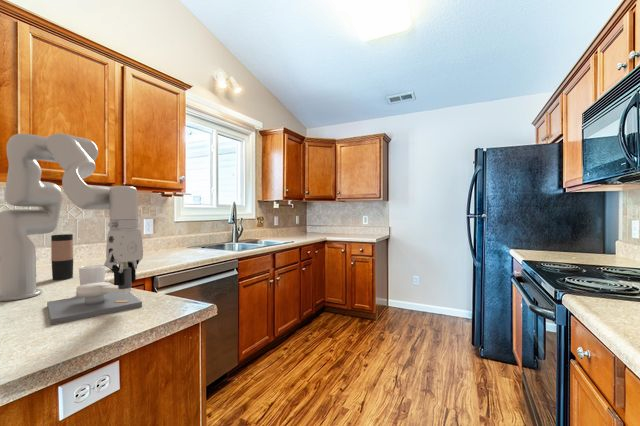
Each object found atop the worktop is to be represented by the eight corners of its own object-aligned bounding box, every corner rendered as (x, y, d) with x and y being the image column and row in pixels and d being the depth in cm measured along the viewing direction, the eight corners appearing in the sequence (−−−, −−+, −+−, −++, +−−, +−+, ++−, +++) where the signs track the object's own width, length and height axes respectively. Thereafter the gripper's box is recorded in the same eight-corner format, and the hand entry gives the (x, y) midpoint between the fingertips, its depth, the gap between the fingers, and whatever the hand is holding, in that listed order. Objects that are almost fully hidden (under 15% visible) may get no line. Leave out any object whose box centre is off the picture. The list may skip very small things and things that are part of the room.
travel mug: (48, 279, 137) (47, 235, 136) (68, 276, 143) (68, 234, 143) (56, 281, 133) (55, 235, 133) (76, 277, 140) (76, 234, 140)
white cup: (74, 297, 109) (74, 269, 109) (85, 291, 116) (85, 265, 116) (100, 295, 111) (99, 268, 111) (108, 289, 119) (108, 264, 118)
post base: (47, 306, 98) (47, 294, 98) (126, 293, 114) (125, 282, 113) (51, 324, 82) (50, 310, 82) (141, 306, 98) (141, 294, 98)
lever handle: (65, 296, 95) (64, 269, 95) (96, 287, 105) (96, 263, 105) (117, 299, 91) (117, 271, 90) (144, 290, 101) (144, 265, 101)
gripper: (111, 227, 86) (112, 291, 86) (153, 224, 103) (154, 277, 103) (89, 227, 88) (90, 290, 88) (134, 224, 104) (135, 277, 104)
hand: (125, 282), depth 95 cm, fingers closed on lever handle, 3 cm apart
